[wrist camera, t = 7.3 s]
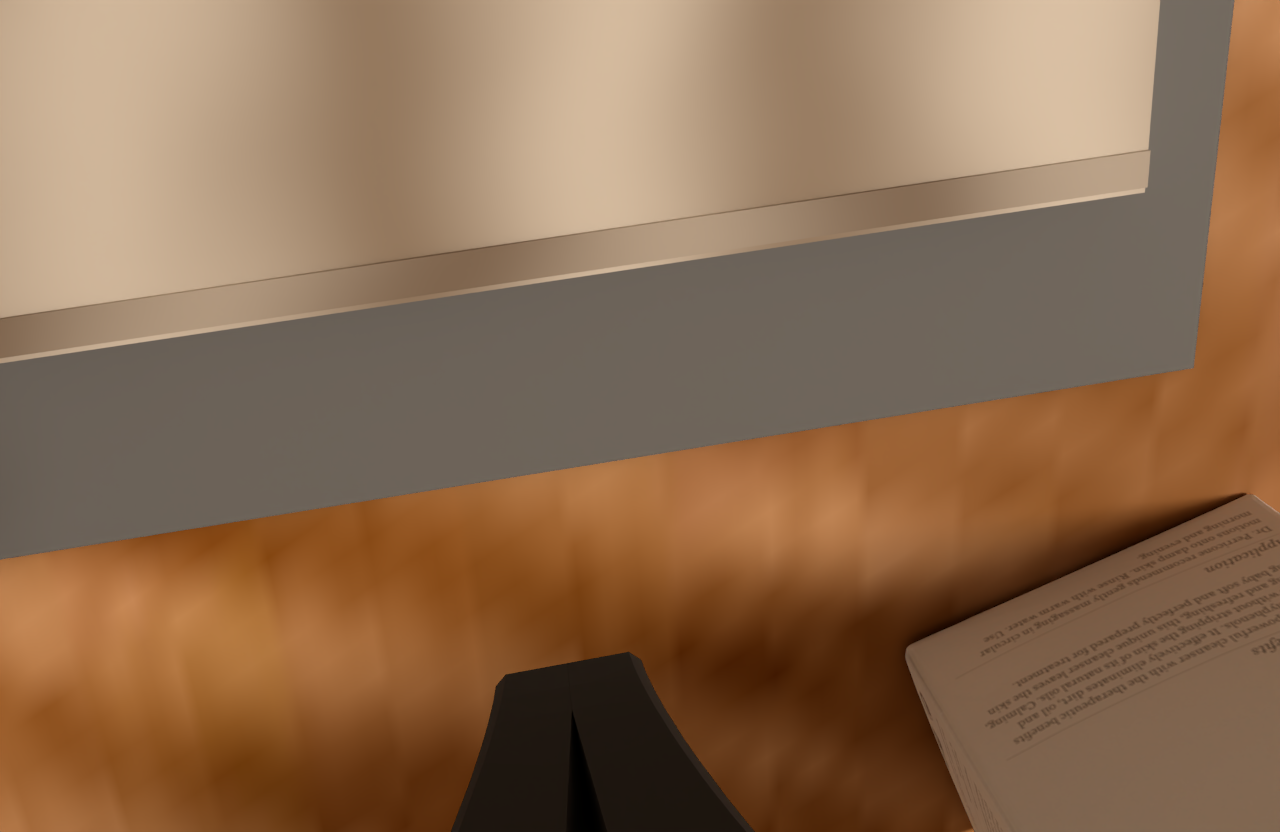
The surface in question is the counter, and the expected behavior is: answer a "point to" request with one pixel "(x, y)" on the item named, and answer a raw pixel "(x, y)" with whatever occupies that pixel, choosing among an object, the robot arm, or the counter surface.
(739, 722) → the counter surface
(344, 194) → the loose plank
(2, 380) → the underlay mat
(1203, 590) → the skincare box
